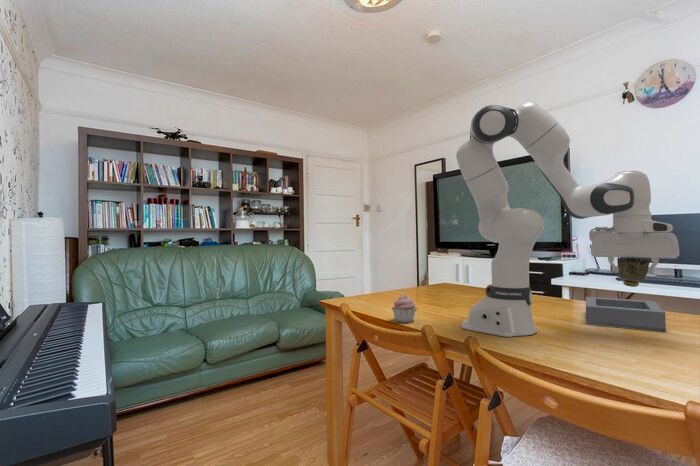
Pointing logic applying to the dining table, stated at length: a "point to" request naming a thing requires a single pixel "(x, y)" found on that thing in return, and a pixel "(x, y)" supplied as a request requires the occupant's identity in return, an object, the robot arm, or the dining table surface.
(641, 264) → the wire cup brush
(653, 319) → the gray square tray
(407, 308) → the cupcake
